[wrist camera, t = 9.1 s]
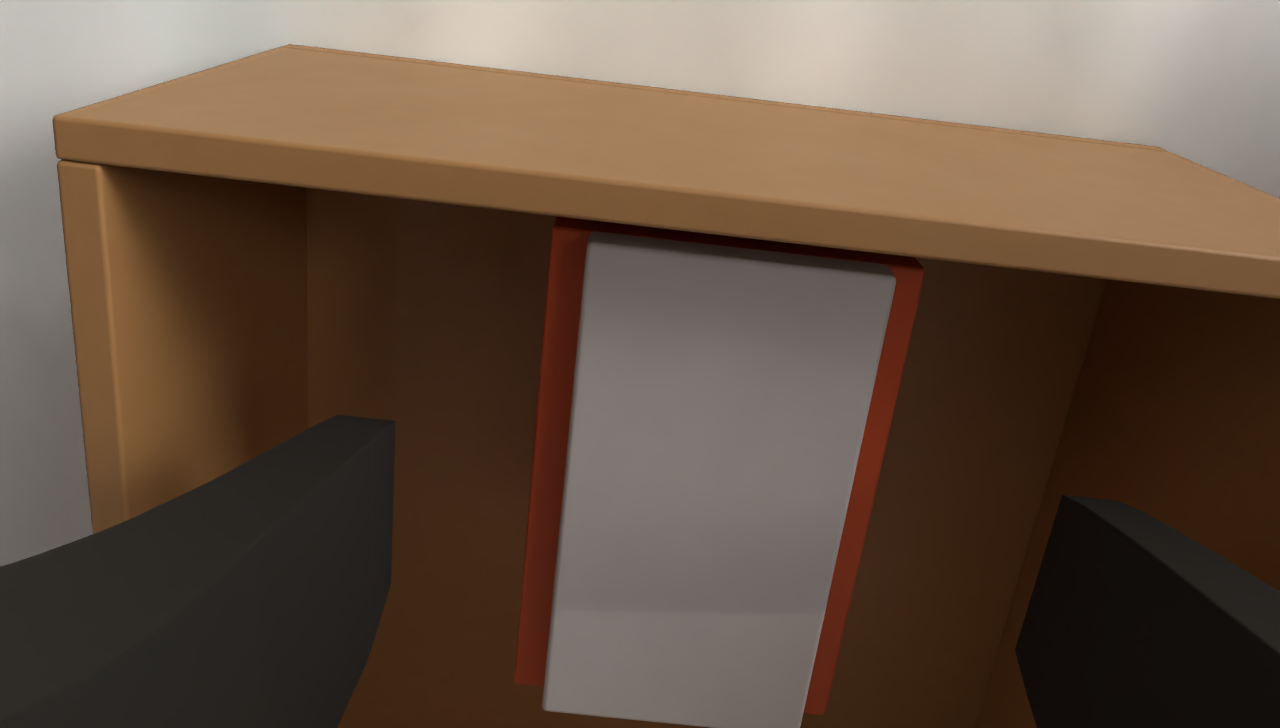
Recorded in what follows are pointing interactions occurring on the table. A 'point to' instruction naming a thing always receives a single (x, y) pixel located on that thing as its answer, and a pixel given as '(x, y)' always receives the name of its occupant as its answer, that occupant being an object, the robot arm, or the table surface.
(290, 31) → the table surface
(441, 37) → the table surface
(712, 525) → the block
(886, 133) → the box
